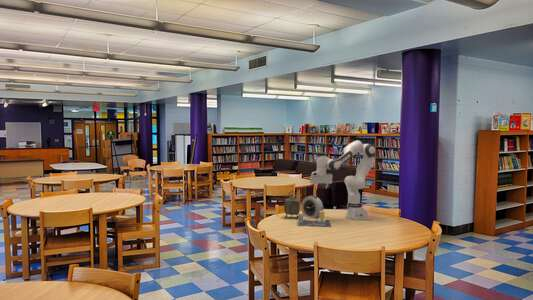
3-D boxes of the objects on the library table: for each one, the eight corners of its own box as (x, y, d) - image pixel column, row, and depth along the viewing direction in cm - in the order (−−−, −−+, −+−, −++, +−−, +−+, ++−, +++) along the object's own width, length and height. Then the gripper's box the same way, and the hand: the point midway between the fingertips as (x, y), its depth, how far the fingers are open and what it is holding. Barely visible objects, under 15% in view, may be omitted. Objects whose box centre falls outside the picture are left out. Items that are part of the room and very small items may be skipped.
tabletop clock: (299, 217, 363) (300, 190, 362) (299, 219, 354) (300, 192, 353) (284, 216, 365) (284, 190, 363) (283, 218, 356) (284, 191, 354)
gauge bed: (329, 222, 345) (330, 214, 345) (331, 227, 329) (331, 218, 329) (298, 221, 347) (298, 213, 347) (298, 225, 331) (298, 217, 331)
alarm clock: (300, 214, 373) (301, 194, 372) (306, 213, 378) (306, 193, 377) (318, 218, 358) (318, 197, 357) (323, 217, 363) (323, 196, 362)
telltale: (314, 223, 333) (314, 220, 333) (314, 224, 331) (314, 220, 331) (312, 223, 333) (312, 220, 333) (312, 224, 331) (312, 220, 331)
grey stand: (324, 221, 341) (325, 210, 340) (325, 224, 330) (326, 213, 329) (304, 221, 342) (304, 209, 342) (304, 224, 331) (304, 212, 331)
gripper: (332, 173, 355) (332, 187, 356) (310, 172, 357) (309, 187, 358) (333, 173, 349) (332, 189, 350) (310, 173, 350) (310, 188, 351)
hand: (320, 188), depth 354 cm, fingers open, 8 cm apart
